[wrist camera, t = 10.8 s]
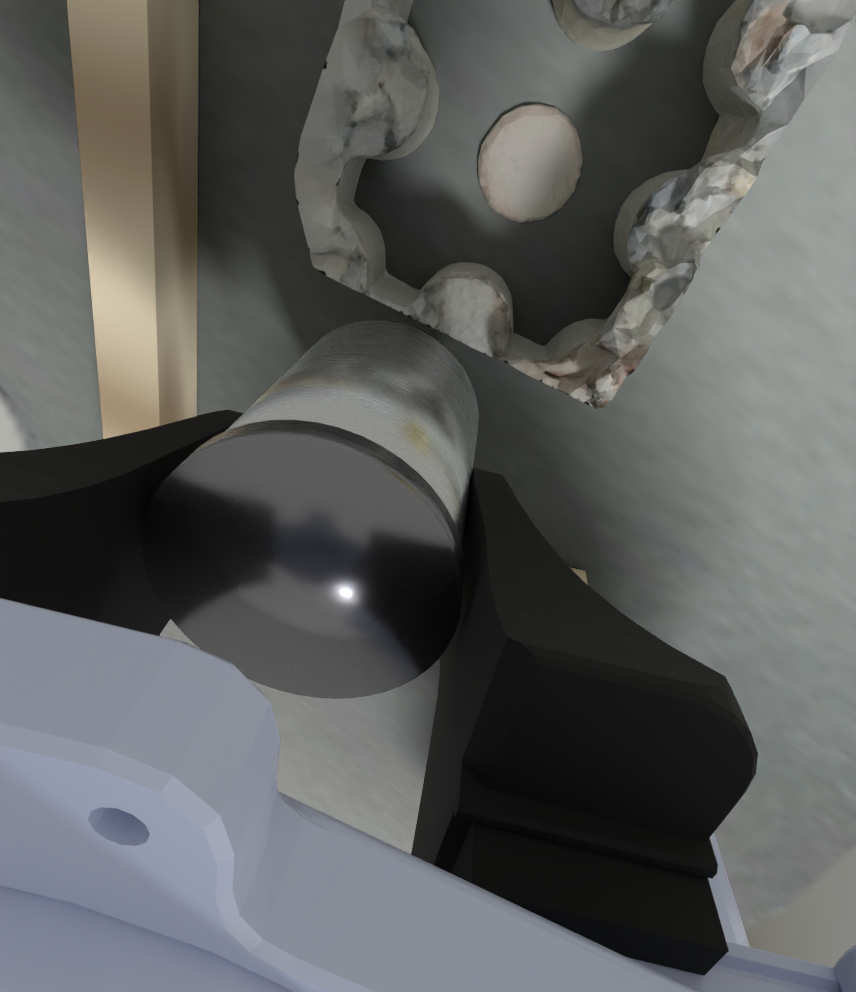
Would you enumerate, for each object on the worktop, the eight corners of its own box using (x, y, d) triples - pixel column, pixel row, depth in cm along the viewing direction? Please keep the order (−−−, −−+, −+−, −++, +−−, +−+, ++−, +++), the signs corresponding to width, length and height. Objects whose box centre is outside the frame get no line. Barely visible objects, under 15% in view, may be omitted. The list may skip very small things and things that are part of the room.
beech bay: (569, 608, 18) (575, 654, 16) (149, 508, 18) (111, 543, 16) (1015, -442, 8) (1147, -605, 7) (100, -652, 8) (-7, -870, 7)
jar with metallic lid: (436, 528, 15) (393, 733, 10) (265, 457, 14) (124, 633, 9) (518, 369, 12) (521, 528, 7) (318, 278, 12) (167, 379, 7)
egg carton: (577, 379, 15) (598, 444, 12) (311, 238, 14) (245, 261, 11) (925, -159, 10) (1157, -343, 6) (540, -432, 9) (560, -822, 5)
